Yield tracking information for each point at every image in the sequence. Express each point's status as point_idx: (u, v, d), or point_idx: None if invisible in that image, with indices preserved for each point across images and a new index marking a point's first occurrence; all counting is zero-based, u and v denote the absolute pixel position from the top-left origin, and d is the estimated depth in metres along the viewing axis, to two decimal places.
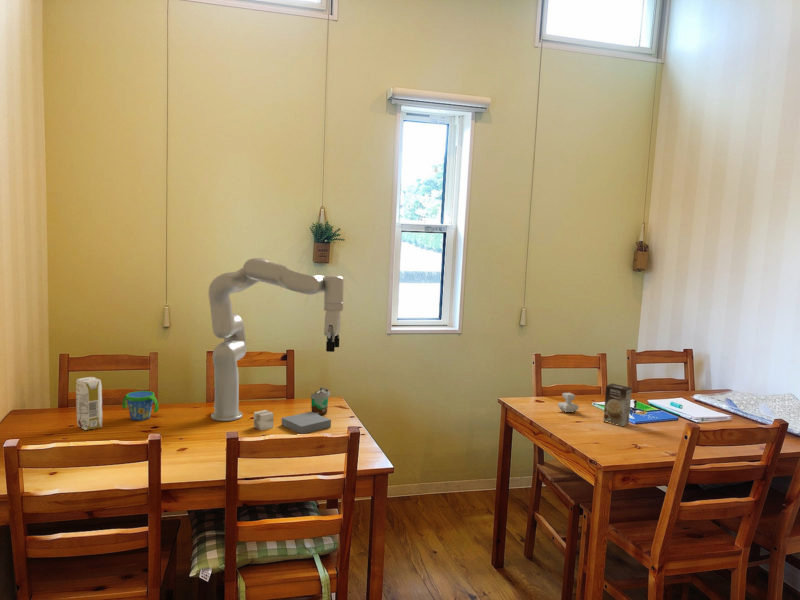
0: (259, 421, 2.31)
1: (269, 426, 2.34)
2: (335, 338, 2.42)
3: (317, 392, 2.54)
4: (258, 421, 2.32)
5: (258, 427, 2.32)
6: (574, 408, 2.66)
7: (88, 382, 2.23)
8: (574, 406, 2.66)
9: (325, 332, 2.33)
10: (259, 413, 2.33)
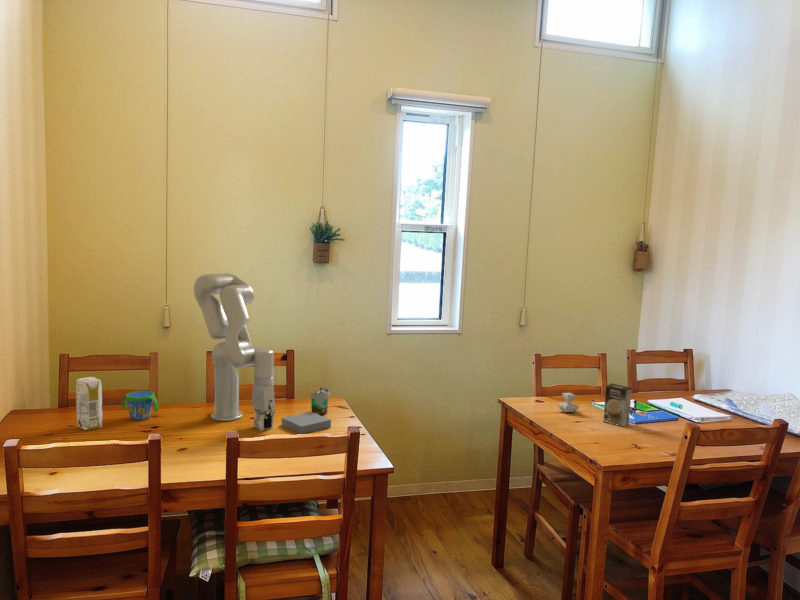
0: (260, 421, 2.31)
1: None
2: None
3: (317, 392, 2.54)
4: (258, 421, 2.32)
5: (258, 427, 2.33)
6: (574, 408, 2.66)
7: (88, 382, 2.23)
8: (574, 406, 2.66)
9: (265, 408, 2.29)
10: (259, 413, 2.33)
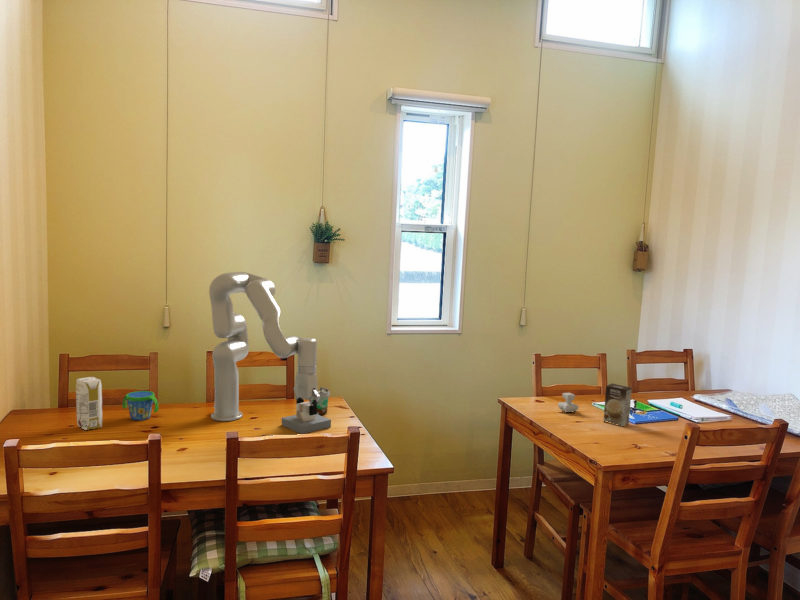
0: (302, 412, 2.34)
1: (311, 417, 2.36)
2: (300, 400, 2.40)
3: None
4: (301, 412, 2.35)
5: (301, 418, 2.35)
6: (574, 408, 2.66)
7: (88, 382, 2.23)
8: (574, 406, 2.66)
9: (309, 396, 2.32)
10: (302, 404, 2.36)
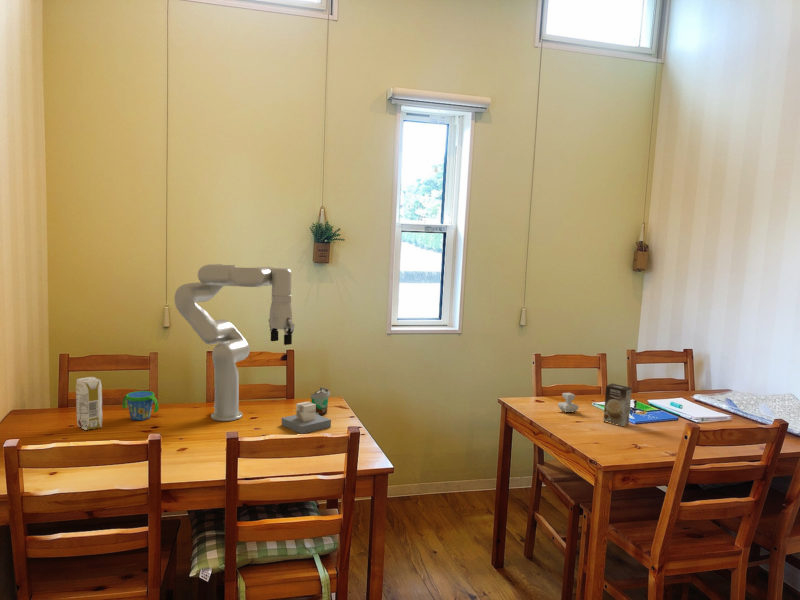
0: (302, 412, 2.34)
1: (311, 417, 2.36)
2: (275, 332, 2.39)
3: (317, 392, 2.54)
4: (301, 412, 2.35)
5: (301, 418, 2.35)
6: (574, 408, 2.66)
7: (88, 382, 2.23)
8: (574, 406, 2.66)
9: (283, 326, 2.30)
10: (302, 404, 2.36)
